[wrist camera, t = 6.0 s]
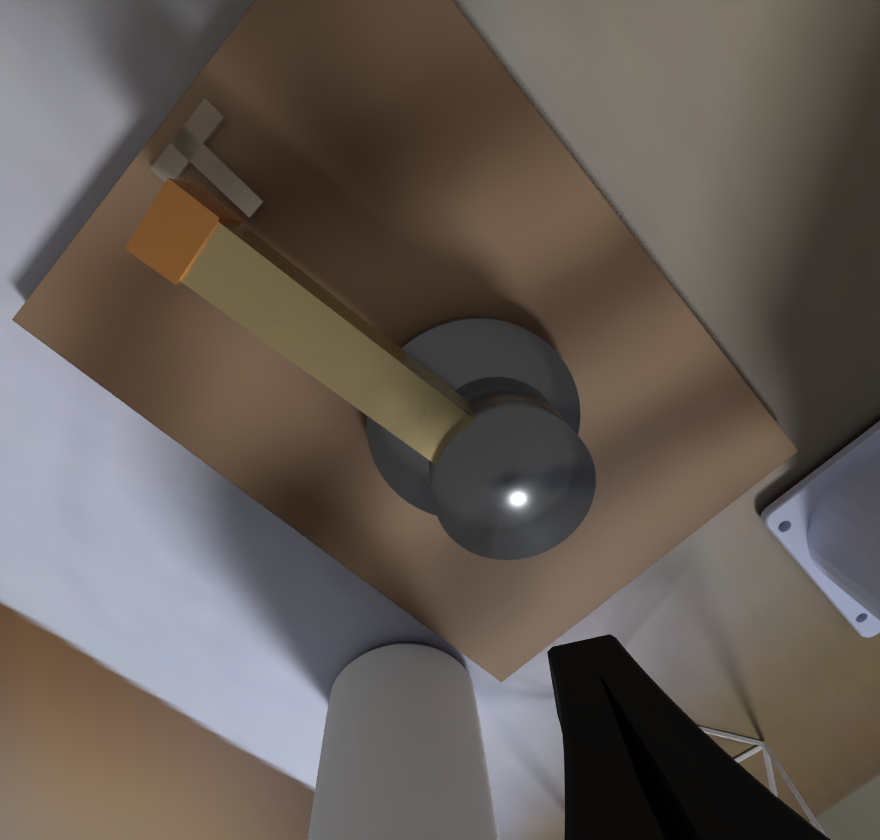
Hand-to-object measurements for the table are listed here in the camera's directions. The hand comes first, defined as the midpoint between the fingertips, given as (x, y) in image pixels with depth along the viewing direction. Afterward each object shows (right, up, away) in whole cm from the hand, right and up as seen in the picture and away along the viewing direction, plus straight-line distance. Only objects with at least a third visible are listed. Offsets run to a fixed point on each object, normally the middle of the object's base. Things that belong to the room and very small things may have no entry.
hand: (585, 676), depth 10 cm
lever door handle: (-4, +7, +6) cm, 10 cm away
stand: (-3, +7, +7) cm, 10 cm away
